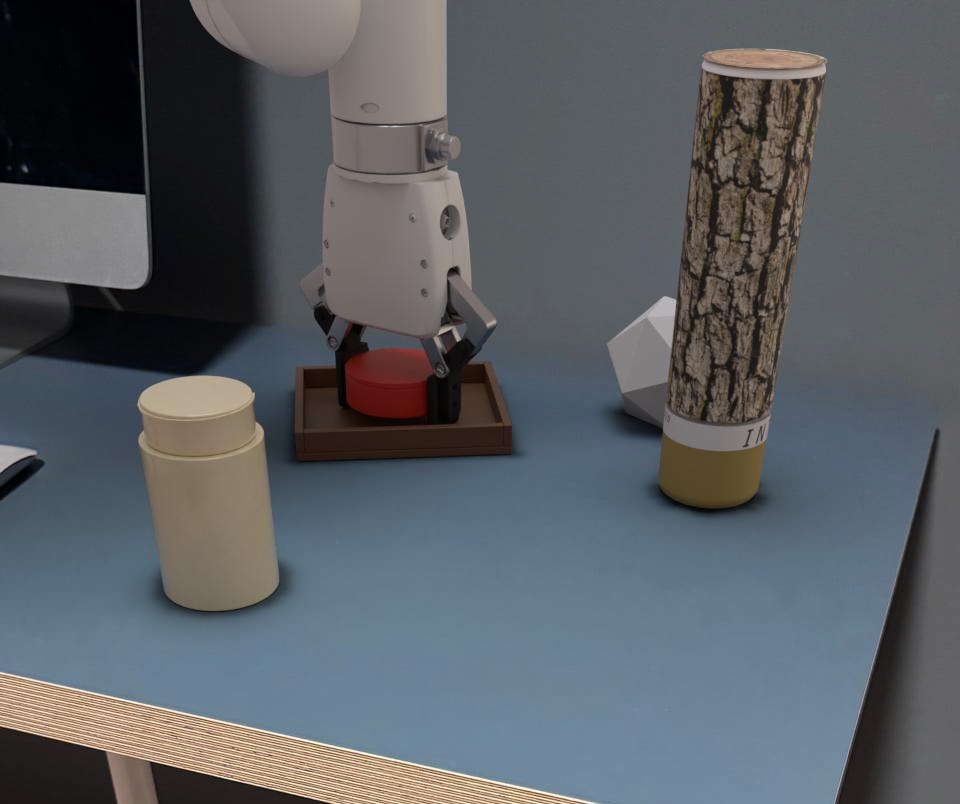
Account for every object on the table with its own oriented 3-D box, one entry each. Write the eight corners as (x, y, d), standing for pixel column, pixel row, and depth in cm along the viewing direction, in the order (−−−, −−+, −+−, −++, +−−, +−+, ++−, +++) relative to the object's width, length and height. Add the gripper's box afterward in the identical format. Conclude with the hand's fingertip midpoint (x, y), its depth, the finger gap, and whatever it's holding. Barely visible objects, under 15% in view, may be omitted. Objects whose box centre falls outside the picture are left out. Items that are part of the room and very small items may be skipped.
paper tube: (656, 510, 82) (704, 66, 66) (656, 468, 88) (700, 47, 71) (760, 515, 82) (834, 70, 66) (754, 473, 87) (821, 50, 71)
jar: (158, 614, 71) (124, 420, 64) (168, 558, 77) (137, 374, 69) (278, 608, 72) (258, 416, 65) (280, 554, 77) (261, 370, 70)
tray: (297, 461, 88) (294, 432, 87) (297, 393, 98) (295, 366, 97) (511, 454, 89) (512, 425, 88) (490, 387, 99) (490, 360, 98)
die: (749, 433, 94) (738, 298, 94) (714, 408, 86) (701, 259, 86) (643, 457, 98) (632, 327, 98) (599, 434, 90) (587, 293, 90)
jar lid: (376, 375, 96) (375, 341, 95) (466, 390, 94) (466, 356, 92) (328, 408, 91) (325, 373, 89) (421, 425, 89) (421, 390, 87)
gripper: (533, 154, 80) (524, 424, 92) (323, 121, 88) (338, 375, 99) (467, 175, 76) (466, 457, 87) (251, 139, 83) (276, 403, 94)
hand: (398, 412), depth 93 cm, fingers closed on jar lid, 7 cm apart
